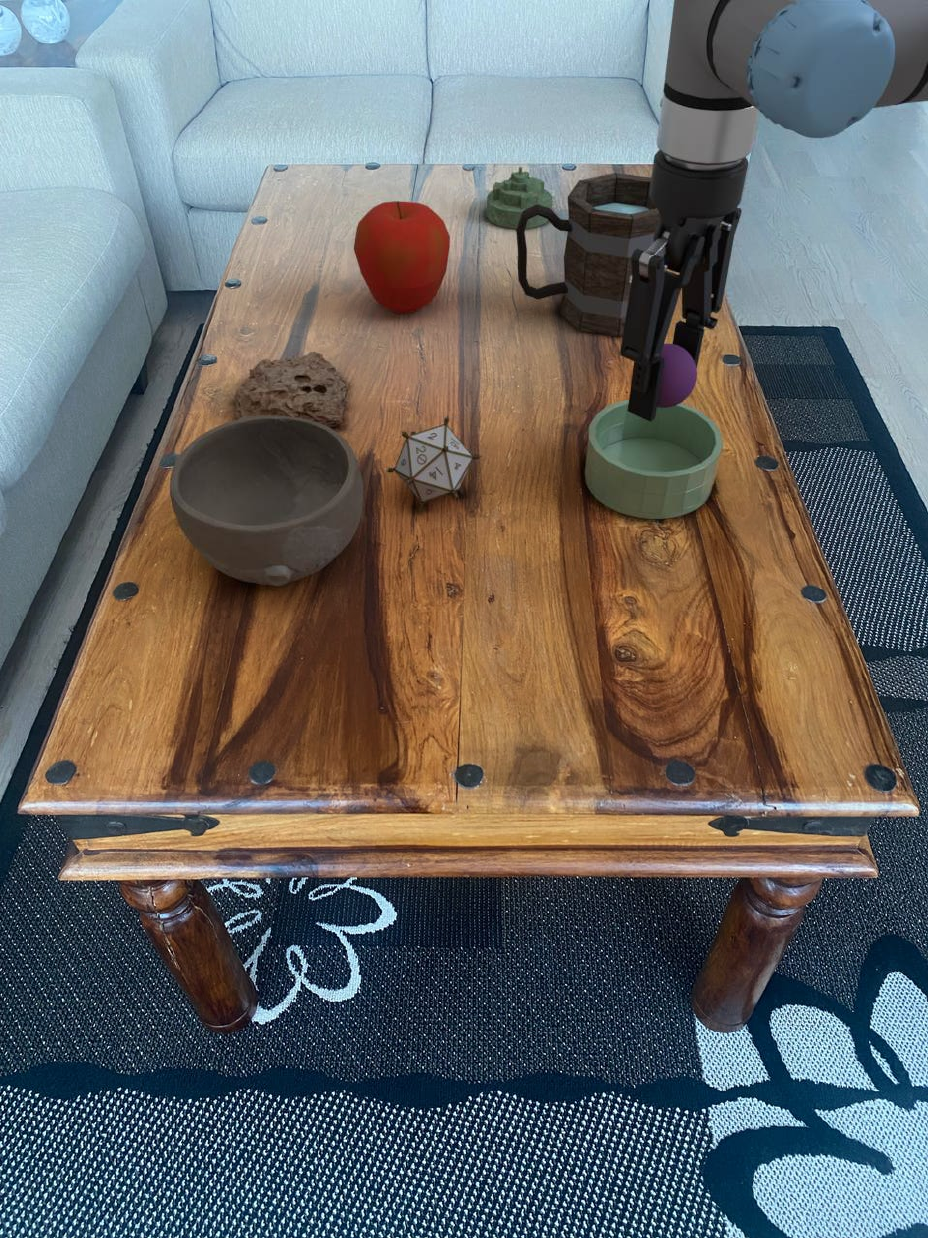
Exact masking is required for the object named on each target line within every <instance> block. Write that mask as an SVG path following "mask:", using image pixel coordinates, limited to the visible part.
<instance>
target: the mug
mask: <svg viewBox="0 0 928 1238" xmlns="http://www.w3.org/2000/svg"><path fill="white" fill-rule="evenodd" d="M650 184H651V177H649V176H643V175H642V176H641V175H633V174H627V173H618V172H613V173H608V174H603V175H598V176H593V177H589V178H584V179H580V180H578V181H577V183H576V184H575V185H574V187H573V188H572V190H571V192H570V193H569V194H568V195H567V210H568V211H567V212H568V213H567V214H568V219H562V218H560V217H559V216H558V215H557V214H556V213H555V212H554V211H553V209H552V210H551V209H550V208H548V207H545V206H542V205H539V204H536V205H534V206H532V207H530V208H527V209H525V210H523V212H522V214H521V217H520V220H519V223H518V226H517V229H515V232H516V233H515V234H516V244H517V246H516V247H517V280H518V281H517V282H518V283H519V285H520V287H521V289H522V291H523V293H524V295H525V296H527V297H529V298H532V299H535V300H542V299H546V298H548V297H553V296H558V295H562V298H561V299H562V300H561V305H560V309H559V310H560V311H559V313H560V314H561V315H562V316H563V317H564V318H565V319H567V320H568V321H569V322H570V323H571V325H573V326H574V327H575V328H576V329H577V330H578V331H581V332H585V333H587V332H588V333H592V334H593V333H594V334H598V335H604V336H610V337H616V338H621V337H623V331H624V325H625V319H626V312H627V306H628V300H629V294H630V288H631V281H632V264H631V258H632V254H633V252H634V251H635V250H636V249H638V248H639V249H641V250H644V251H646V250H647V249H648V248H649V247H650V246H651V245H652V244H653V243H654V234H655V231H656V228H657V225H658V222H659V219H660V214H659V212H658V210H657V208H656V207H655V205H654V204H653V203H652V201H651V199H650V196H649V191H650ZM537 215H539V216H542V217H544V218H546V219H548V220H549V221H548V222H549V223H550V224H551V225H552V226H553V227H554V228H555V229H556V230H558V231H559V232H567V235H566V241H565V248H564V253H563V271H564V272H563V273H564V275H563V277H564V279H563V281H561V282H556V283H555V282H554V283H551V284H550V283H549V284H546V285H544V286H541V287H538V288H537V287H534V286H531V285H530V283H529V281H528V278H527V275H528V273H527V272H528V271H527V269H528V267H527V266H528V247H527V239H526V233H525V231H526V229H525V228H526V224H527V220H528V219H530V218H532V217H535V216H537Z"/></svg>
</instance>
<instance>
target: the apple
mask: <svg viewBox="0 0 928 1238" xmlns="http://www.w3.org/2000/svg"><path fill="white" fill-rule="evenodd" d="M449 233H450V232H449V231H448V228H447V226H446V224H445V221H444V220H443V218H442V217H441V216H439V214H438V213H437V212H435V211H434V210H433V209H432V208H431V207H429V206H428V205H426V204H424V203H420V202H412V201H399V200H393V201H385V202H382V203H379V204H377V205H375V206H374V207H372V208H371V209H370V210H369V211H367V213H366V214H365V215H364V216H363V217H362V218H361V219H360V220H359V221H358V223H357V226H356V229H355V237H354V243H353V252H354V255H355V258H356V262H357V264H358V269H359V271H360V274H361V276H362V277H363V280H364V282H365V285H366V286H367V288H368V290H369V292H370V294H371V296H372V298H373V299H374V301H375V302H376V303H377V304H378V305H380V306H381V307H383V308H385V309H387V310H389V311H390V312H393V313H395V314H409V313H410V314H411V313H415V312H418V311H419V310H422V309H423V308H425V307H426V306H428V305H430V304H431V303H433V301H434V299H435V298H436V297H437V295H438V293H439V290H440V288H441V286H442V283H443V281H444V277H445V275H446V273H447V268H448V261H449V255H450V254H449V252H450V247H451V236H450V234H449Z"/></svg>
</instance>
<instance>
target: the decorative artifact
mask: <svg viewBox="0 0 928 1238" xmlns="http://www.w3.org/2000/svg"><path fill="white" fill-rule="evenodd" d="M536 204H539V205H542V206H545V207H548V208H550V209H551V210H552V211H553V195H552V193H550V191H548V190H546V189H545V181H544V180H542V179H540V178H537V177H534V176H530V173H529V172H528V171H523V167H522V166H520V167H518V171H516V172H511V173H510V177H509V178H508V179H503V181H501V182H499V181H495V182H494V183H493V184H492V190H490V192H489V193H488V194H487V195H486V217H487V219H488V220H489V221H490V222H491V223H492V224H494V225H496V226H499V227H502V228H505V229H514V230H516V229H517V226H518V223H519V220H520V217H521V214H522V212H523V210H525V209H527V208H530V207H532V206H534V205H536ZM548 222H550V221H549V220H548V219H546V218H544V217H542V216H539V215H537V216H535V217H532V218H530V219H528V220H527V224H526V228H525V230H526V229H532V228H537V227H541V226H543V225H545V224H547V223H548Z"/></svg>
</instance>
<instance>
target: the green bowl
mask: <svg viewBox="0 0 928 1238" xmlns="http://www.w3.org/2000/svg"><path fill="white" fill-rule="evenodd" d="M628 403H629V399H623V400H621V401H617V402H615V403H612V404H610V405H607V406H606V407H604V408H603V409H602V410H600V411H599V412H598V413H596V414H595V415H594V417H593V419H592V420H591V422H590V423H589V426H588V432H587V441H586V452H585V462H584V481H585V483H586V487H587V488H588V490H589V492H590V493H591V494H592V495H593V497H594V498H595V499H596V500H598V502H600V503H601V504H603V505H604V506H606V507H607V508H609V509H611V510H613V511H616V512H617V513H620V514H623V515H626V516H630V517H632V518H638V519H644V520H645V519H647V520H665V519H666V520H667V519H673V518H679V517H682V516H685V515H687V514H690V513H692V512H694V511H696V510H697V509H699V508H700V507H701V506H702V505H704V504H705V502H707V501H708V499H709V498H710V495H711V493H712V491H713V487H714V484H715V480H716V478H717V477H716V476H717V473H718V468H719V463H720V460H721V456H722V450H723V446H724V444H723V437H722V432H721V430H720V429H719V427H718V426H717V425H716V423H715V421H714V420H713V419H711V418H710V417H709V416H707V414H705V413H703V412H702V411H701V410H699V409H697V408H694V407H693V406H690V405H688V404H685V403H683V402H681V403H680V404H678V405H676V406H673V407H669V408H658V407H657V410H656V416H655V419H654V420H652V421H651V422H650V421H648V420H645V419H643V418H641V417H639V416H637V415H635V414H633V413H630V412H628Z"/></svg>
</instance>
